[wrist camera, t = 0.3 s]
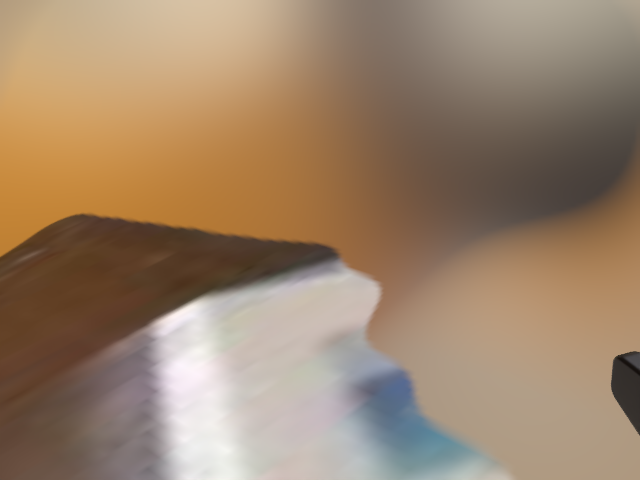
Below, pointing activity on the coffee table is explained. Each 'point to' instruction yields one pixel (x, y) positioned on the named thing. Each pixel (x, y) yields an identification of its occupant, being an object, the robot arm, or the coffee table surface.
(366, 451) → the coffee table surface
